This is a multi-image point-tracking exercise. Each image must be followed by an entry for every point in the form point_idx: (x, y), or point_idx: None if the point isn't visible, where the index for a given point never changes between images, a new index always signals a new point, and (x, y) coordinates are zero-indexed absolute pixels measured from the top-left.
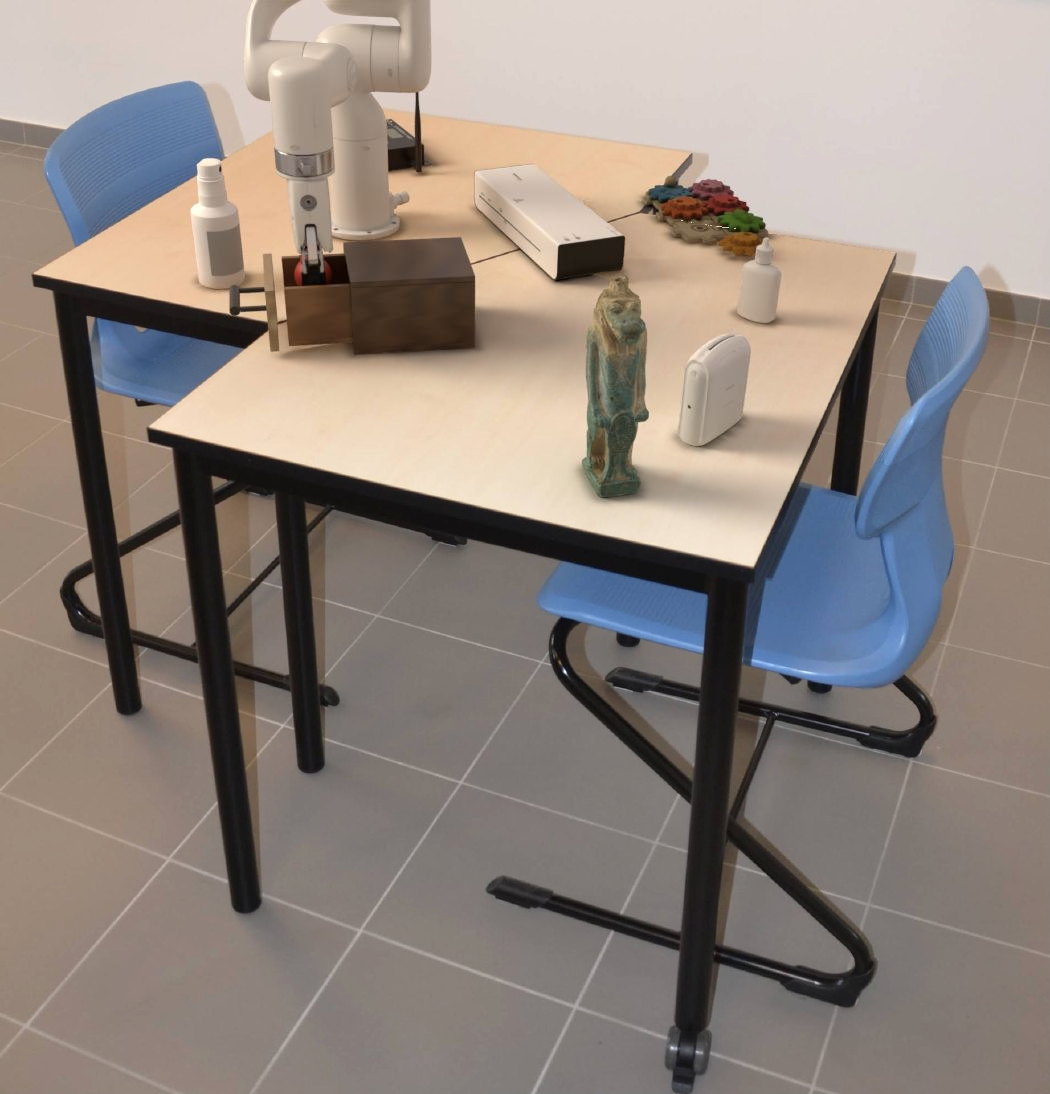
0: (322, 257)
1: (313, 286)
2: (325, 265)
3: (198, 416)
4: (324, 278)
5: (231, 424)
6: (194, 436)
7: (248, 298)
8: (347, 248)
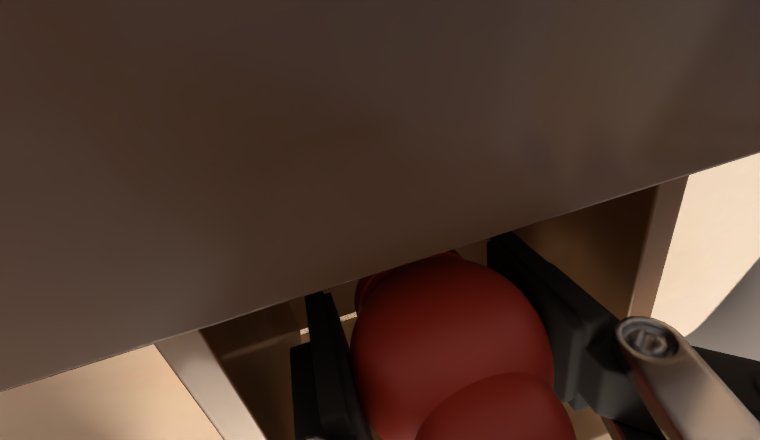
0: (754, 418)
1: (638, 313)
2: (511, 348)
3: (672, 310)
4: (580, 296)
5: (715, 258)
6: (724, 294)
7: (172, 420)
8: (161, 314)
